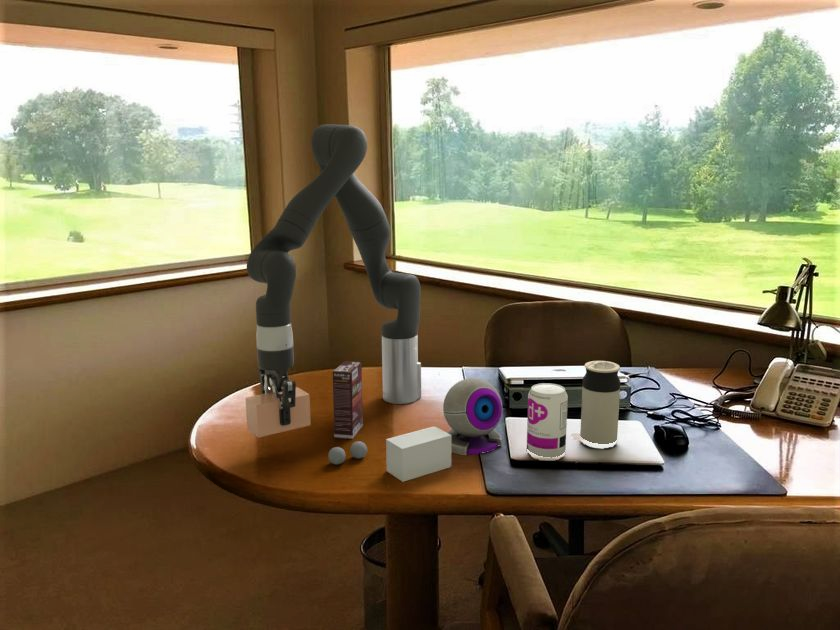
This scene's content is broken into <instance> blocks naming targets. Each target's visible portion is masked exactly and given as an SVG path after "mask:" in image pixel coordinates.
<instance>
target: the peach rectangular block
mask: <svg viewBox="0 0 840 630" xmlns="http://www.w3.org/2000/svg"><path fill="white" fill-rule="evenodd" d="M279 394H282V392H280V393H279ZM281 399H282V398H281ZM290 399H291V398H290ZM310 399H311V398H310V393H308V392H306V391H304V390H303V389H302V388H300V387H298V386H296V396H295V407H291V408H290V416H291V423H290V424H289V425H285V426H282V425H280V416H279V405H278V400H277V399H275V398H274V393H273V392H270V393H269V394H267V393H265V394H262V393H261V394H257V395H251V396H246V397H245V413H246V414H245V415H246V429H247V430H248V431H249V432H251V433H252V434H253V435H255V437H257V438H261V437H266V436H270V435H275V434H278V433H283V432H287V431H291V430H295V429H300V428H305V427H308V426H311V425H312V424H311V402H310Z"/></svg>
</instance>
